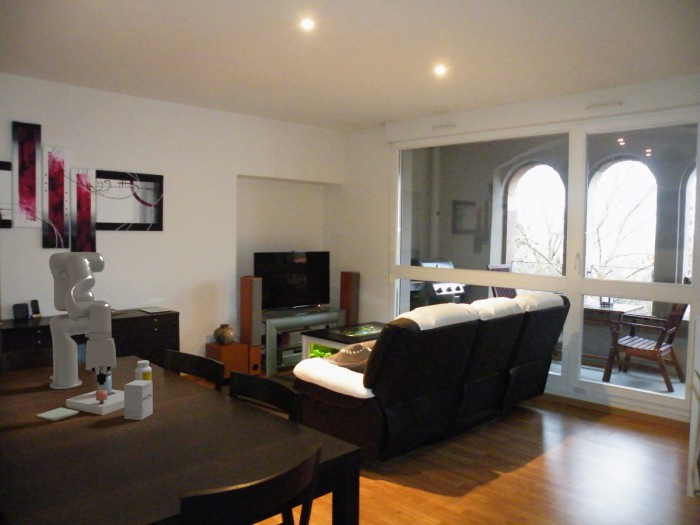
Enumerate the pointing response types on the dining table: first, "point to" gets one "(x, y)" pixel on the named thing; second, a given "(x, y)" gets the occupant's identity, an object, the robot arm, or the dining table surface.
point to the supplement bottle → (143, 371)
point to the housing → (97, 402)
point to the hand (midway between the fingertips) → (101, 384)
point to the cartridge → (107, 383)
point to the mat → (57, 413)
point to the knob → (101, 396)
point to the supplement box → (138, 399)
